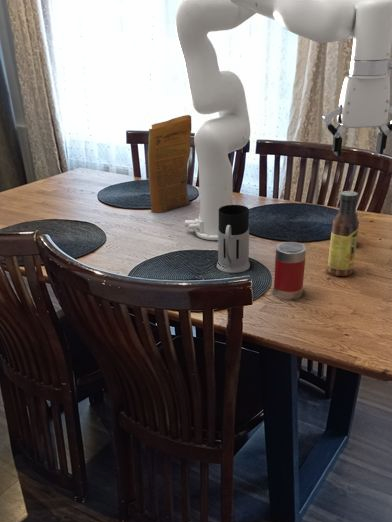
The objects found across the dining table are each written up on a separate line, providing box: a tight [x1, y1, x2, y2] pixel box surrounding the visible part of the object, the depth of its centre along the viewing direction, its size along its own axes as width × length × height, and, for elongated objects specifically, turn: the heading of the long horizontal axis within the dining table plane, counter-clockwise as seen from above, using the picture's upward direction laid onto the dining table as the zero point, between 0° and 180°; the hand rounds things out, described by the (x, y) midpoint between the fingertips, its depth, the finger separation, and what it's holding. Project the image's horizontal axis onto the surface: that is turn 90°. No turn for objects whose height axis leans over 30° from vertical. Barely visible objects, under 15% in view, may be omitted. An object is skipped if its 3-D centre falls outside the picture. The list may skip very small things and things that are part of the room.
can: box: [273, 241, 307, 301], centre depth 122 cm, size 7×7×12 cm
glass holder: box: [216, 204, 251, 274], centre depth 132 cm, size 9×14×15 cm, turn 167°
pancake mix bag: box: [147, 114, 193, 213], centre depth 171 cm, size 7×19×28 cm, turn 131°
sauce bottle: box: [327, 190, 360, 277], centre depth 128 cm, size 7×6×20 cm
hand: (358, 153), depth 120 cm, fingers open, 9 cm apart
